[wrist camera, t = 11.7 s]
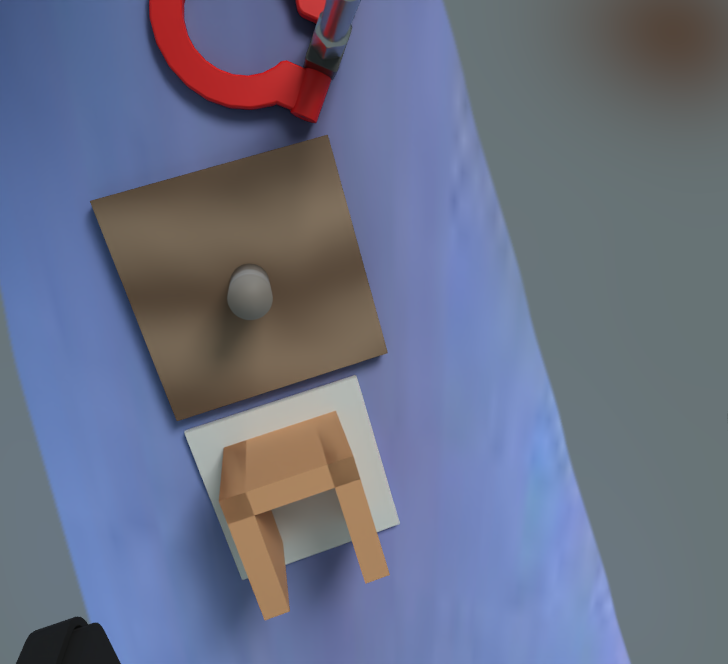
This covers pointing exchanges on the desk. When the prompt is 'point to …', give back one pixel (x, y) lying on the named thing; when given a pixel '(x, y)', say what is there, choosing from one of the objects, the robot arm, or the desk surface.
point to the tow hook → (275, 86)
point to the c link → (292, 500)
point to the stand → (244, 275)
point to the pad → (315, 513)
